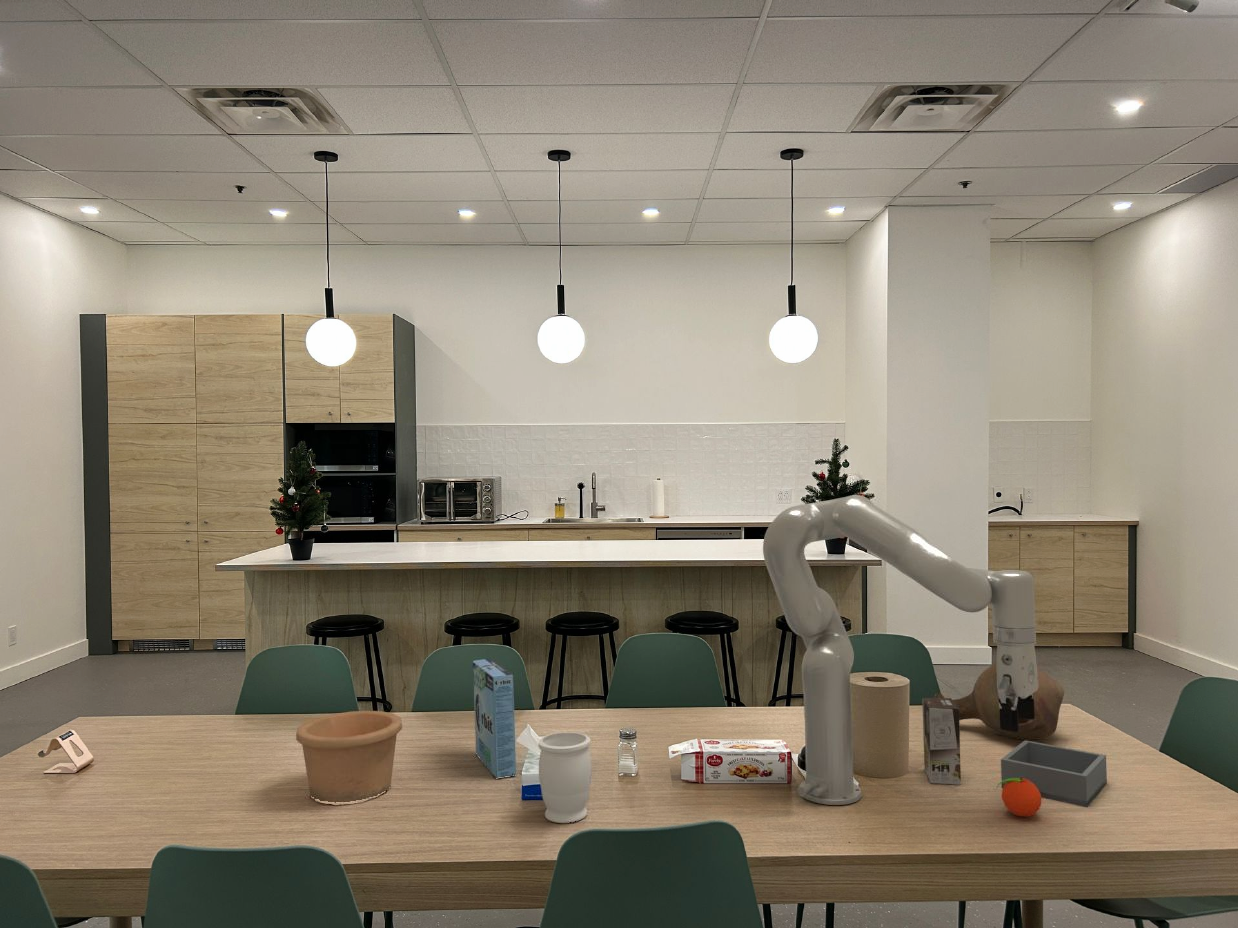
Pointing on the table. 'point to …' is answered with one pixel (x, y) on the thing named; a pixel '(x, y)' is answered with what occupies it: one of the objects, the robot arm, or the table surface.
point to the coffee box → (941, 740)
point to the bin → (1057, 771)
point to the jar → (565, 775)
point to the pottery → (349, 754)
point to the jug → (987, 704)
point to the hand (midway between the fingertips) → (1017, 723)
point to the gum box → (494, 717)
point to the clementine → (1021, 796)
